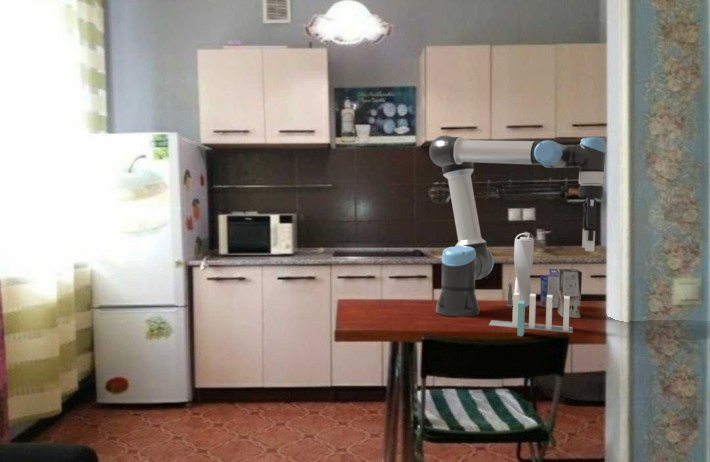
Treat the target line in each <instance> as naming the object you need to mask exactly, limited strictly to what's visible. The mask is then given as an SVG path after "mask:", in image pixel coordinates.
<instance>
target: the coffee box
mask: <svg viewBox="0 0 710 462" xmlns="http://www.w3.org/2000/svg"><path fill="white" fill-rule="evenodd" d="M558 273H559V281H558V308H557V313H558V315H559V316H560V317H562V318H563V313H564V296H570V303H569V318H572V319H573V318H574V319H580V318H581V307H582V305H581V304H582V281H583V280H582V279H583V271H581V270H579V269H577V268H575V269H574V268H558Z"/></svg>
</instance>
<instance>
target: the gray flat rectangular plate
mask: <svg viewBox="0 0 710 462" xmlns="http://www.w3.org/2000/svg"><path fill="white" fill-rule="evenodd" d="M488 326H492V327H496V326H497V327H506V328H514V329H516V328H517V327H516V326H512V321H504V320H494V319H491V320H490V322H489V324H488ZM525 329H529V330H538V331H539V330H540V331H548V332H549V331H550V332H560V333H561V332H562V333H571V334H572V333H573V331H574V329H573V326H569V331H563V325H554V324H552V327H551V330H550V329H546V324H541V323H535V327H534V328H529V322H528V323H527V322H524V330H525ZM573 334H574V333H573Z"/></svg>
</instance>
